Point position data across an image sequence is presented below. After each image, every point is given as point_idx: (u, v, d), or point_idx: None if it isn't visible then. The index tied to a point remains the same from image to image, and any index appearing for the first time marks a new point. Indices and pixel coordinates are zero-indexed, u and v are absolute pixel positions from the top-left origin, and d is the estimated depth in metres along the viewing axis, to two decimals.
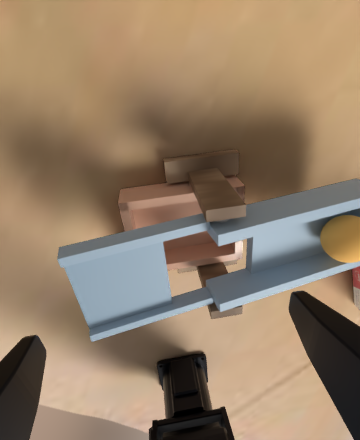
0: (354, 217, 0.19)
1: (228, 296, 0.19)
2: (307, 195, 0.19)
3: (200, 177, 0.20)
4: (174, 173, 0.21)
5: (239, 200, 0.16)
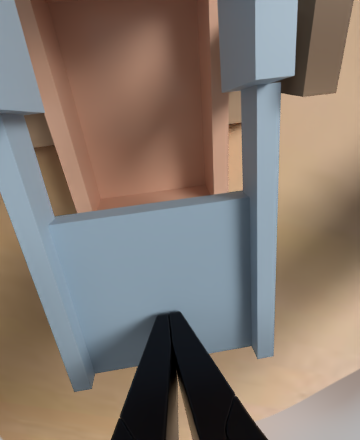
0: None
1: (247, 34, 0.05)
2: None
3: None
4: (38, 130, 0.12)
5: None
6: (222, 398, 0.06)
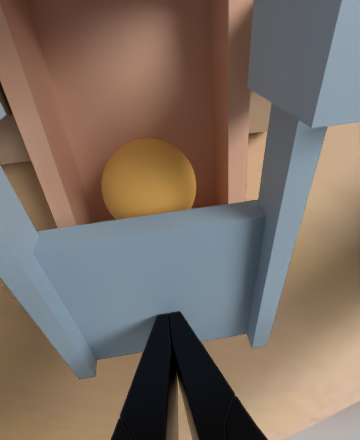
0: (103, 195, 0.10)
1: (309, 49, 0.03)
2: None
3: None
4: (16, 143, 0.10)
5: None
6: (222, 398, 0.06)
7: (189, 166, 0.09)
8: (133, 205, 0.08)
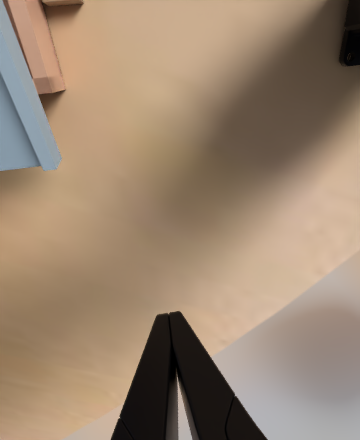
0: None
1: None
2: None
3: None
4: None
5: None
6: (222, 398, 0.06)
7: None
8: None
